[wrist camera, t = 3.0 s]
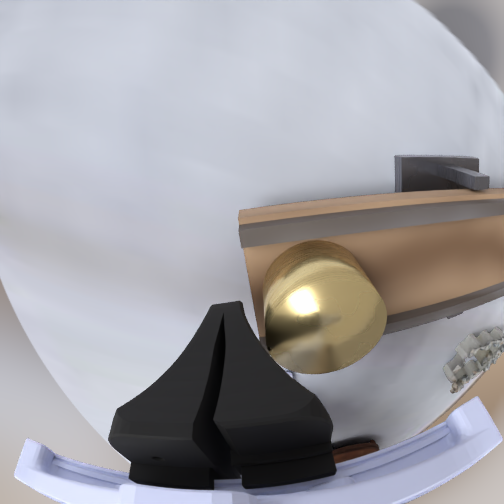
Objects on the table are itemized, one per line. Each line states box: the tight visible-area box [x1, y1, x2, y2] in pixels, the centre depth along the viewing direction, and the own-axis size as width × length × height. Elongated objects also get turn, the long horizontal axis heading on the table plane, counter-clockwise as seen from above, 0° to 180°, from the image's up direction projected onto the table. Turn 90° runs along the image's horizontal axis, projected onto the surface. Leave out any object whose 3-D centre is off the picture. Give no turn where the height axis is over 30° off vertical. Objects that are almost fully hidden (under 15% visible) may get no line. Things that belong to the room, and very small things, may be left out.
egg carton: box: [443, 327, 504, 393], centre depth 23 cm, size 11×8×4 cm
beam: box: [238, 188, 504, 355], centre depth 13 cm, size 8×28×2 cm, turn 98°
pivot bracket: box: [395, 155, 489, 319], centre depth 15 cm, size 11×8×4 cm
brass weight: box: [263, 240, 387, 374], centre depth 12 cm, size 5×5×4 cm
